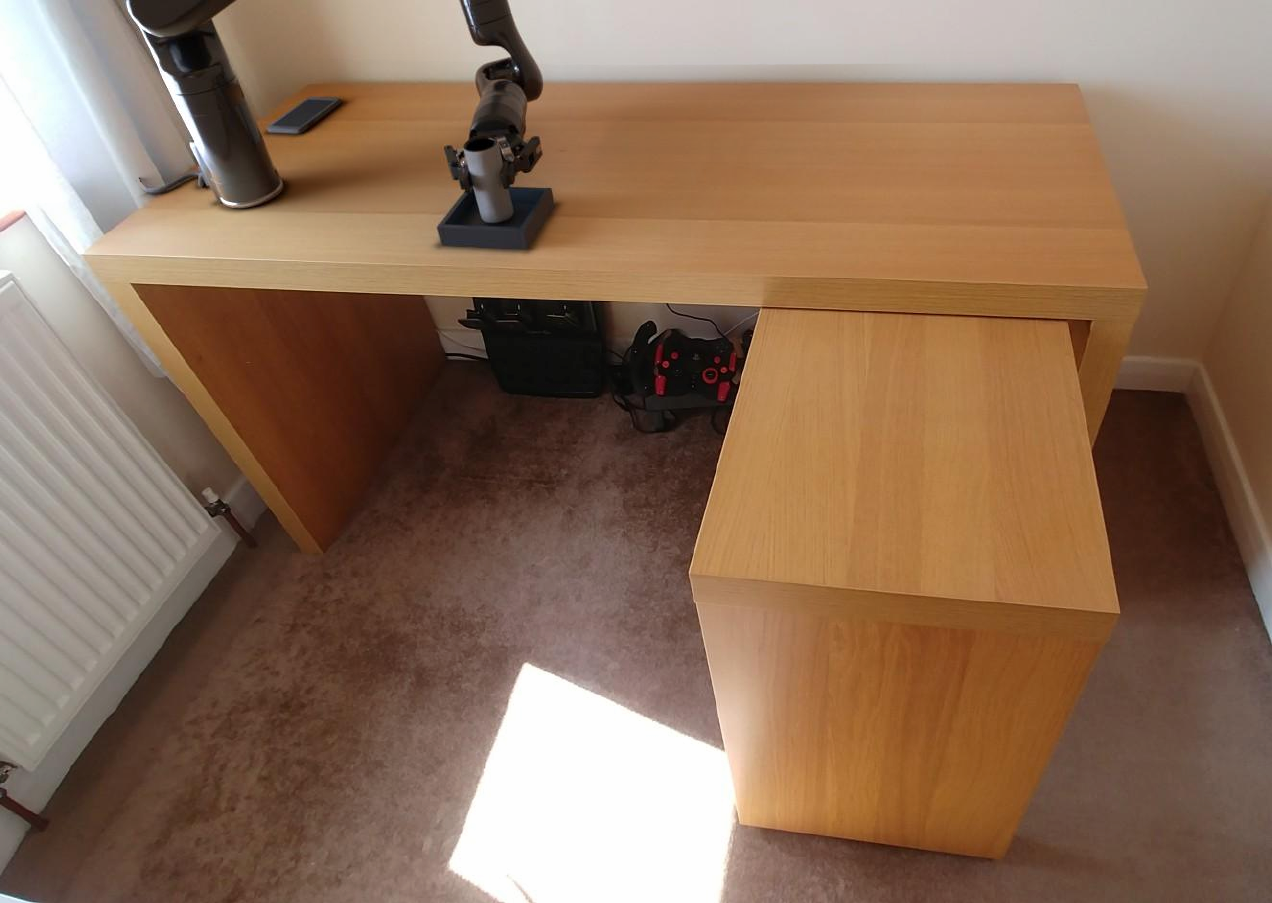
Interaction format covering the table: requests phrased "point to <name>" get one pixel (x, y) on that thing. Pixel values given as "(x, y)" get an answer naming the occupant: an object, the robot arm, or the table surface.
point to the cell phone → (304, 115)
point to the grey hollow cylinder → (488, 178)
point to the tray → (511, 234)
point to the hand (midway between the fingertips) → (485, 184)
